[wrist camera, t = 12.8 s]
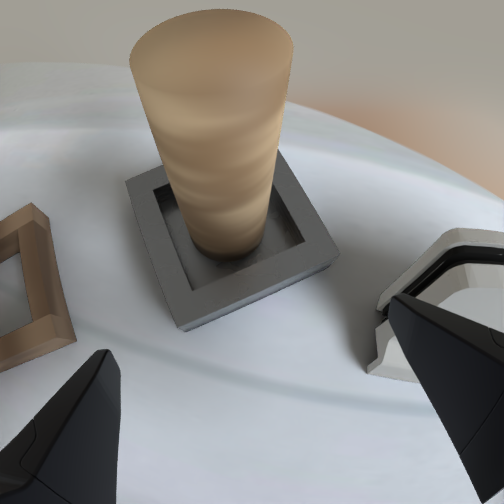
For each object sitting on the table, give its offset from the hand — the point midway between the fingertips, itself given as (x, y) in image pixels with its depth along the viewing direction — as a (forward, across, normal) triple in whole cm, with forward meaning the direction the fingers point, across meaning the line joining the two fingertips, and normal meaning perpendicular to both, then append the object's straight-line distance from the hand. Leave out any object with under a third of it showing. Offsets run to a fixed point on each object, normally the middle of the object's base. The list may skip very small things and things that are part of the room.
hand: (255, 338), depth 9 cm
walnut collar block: (+10, +16, +2) cm, 19 cm away
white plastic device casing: (+4, -15, +9) cm, 18 cm away
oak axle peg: (+10, 0, 0) cm, 11 cm away
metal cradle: (+11, 0, +1) cm, 11 cm away
